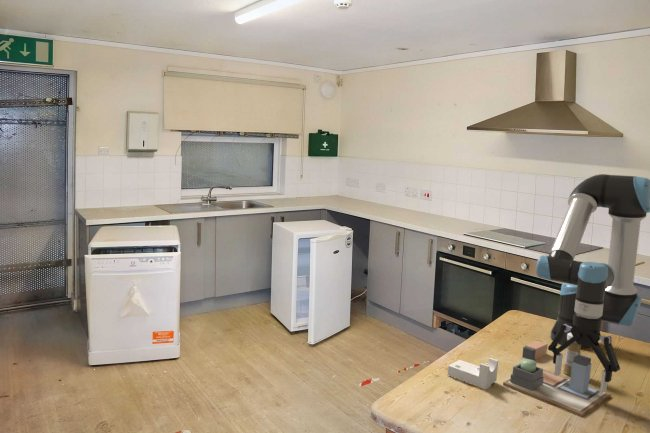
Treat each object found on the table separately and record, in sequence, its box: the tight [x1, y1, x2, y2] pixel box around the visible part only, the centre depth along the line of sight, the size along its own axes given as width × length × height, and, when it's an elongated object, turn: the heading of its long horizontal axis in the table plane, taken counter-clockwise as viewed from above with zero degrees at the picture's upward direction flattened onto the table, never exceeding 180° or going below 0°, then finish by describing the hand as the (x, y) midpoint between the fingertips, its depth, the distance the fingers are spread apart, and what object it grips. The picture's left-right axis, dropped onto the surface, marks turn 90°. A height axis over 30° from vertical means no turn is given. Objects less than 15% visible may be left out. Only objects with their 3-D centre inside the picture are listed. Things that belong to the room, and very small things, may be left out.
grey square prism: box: [569, 353, 592, 394], centre depth 163 cm, size 4×4×10 cm
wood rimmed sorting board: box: [502, 369, 612, 418], centre depth 165 cm, size 20×24×1 cm
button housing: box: [509, 362, 544, 391], centre depth 166 cm, size 7×7×5 cm
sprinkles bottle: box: [562, 333, 582, 377], centre depth 177 cm, size 5×5×14 cm
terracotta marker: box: [522, 340, 549, 361], centre depth 192 cm, size 4×4×10 cm
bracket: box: [447, 357, 499, 390], centre depth 170 cm, size 13×7×8 cm, turn 48°
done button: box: [520, 358, 538, 373], centre depth 166 cm, size 4×4×3 cm
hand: (579, 382), depth 163 cm, fingers open, 13 cm apart
